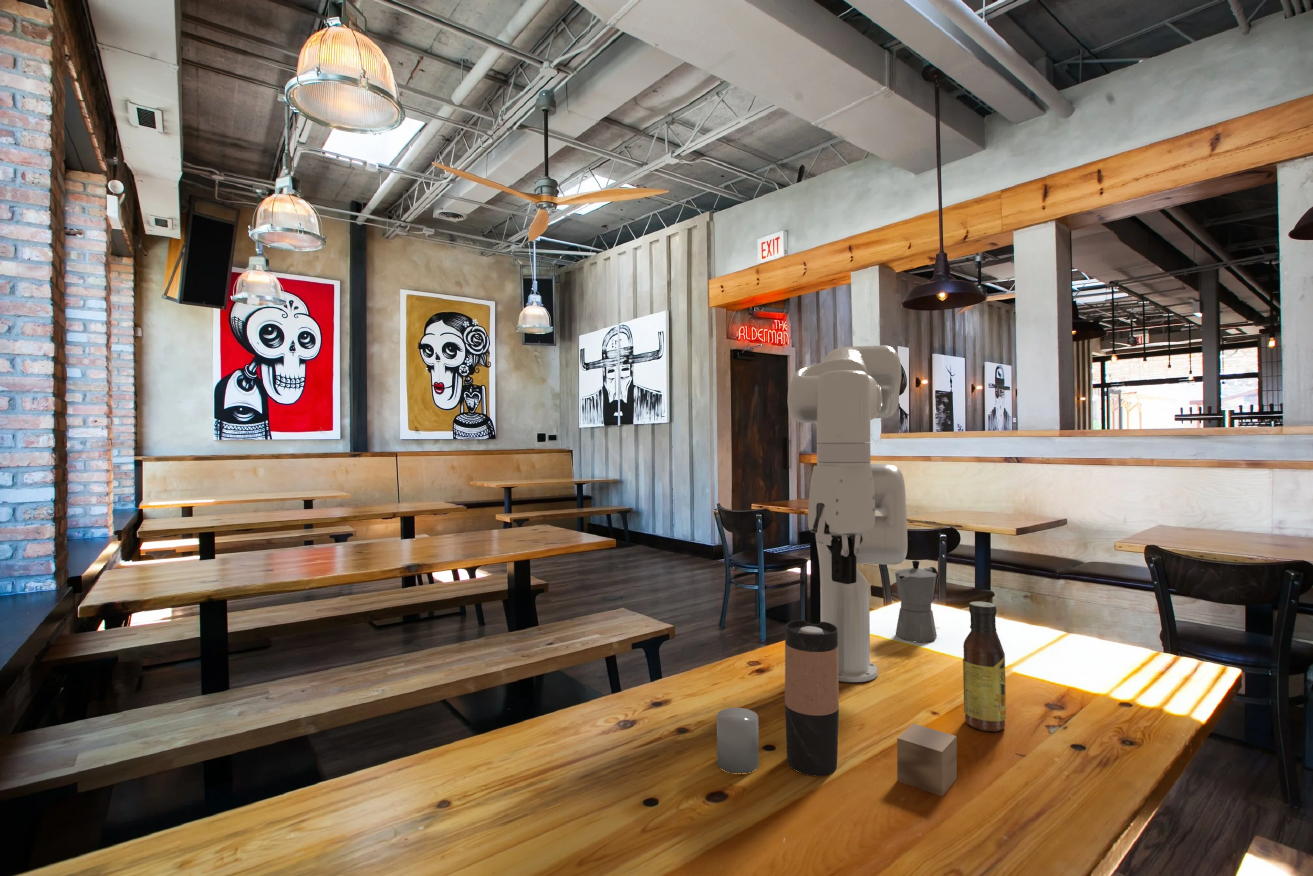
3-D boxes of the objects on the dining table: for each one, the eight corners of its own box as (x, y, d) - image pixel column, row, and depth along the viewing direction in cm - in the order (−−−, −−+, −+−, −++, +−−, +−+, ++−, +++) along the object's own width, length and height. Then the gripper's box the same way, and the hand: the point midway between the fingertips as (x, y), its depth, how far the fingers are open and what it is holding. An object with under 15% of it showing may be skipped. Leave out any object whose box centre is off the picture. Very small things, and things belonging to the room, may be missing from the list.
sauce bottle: (1011, 735, 104) (1011, 610, 103) (969, 732, 105) (968, 608, 105) (998, 717, 110) (998, 600, 110) (958, 714, 111) (958, 598, 111)
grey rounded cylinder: (708, 761, 96) (708, 714, 96) (739, 750, 99) (739, 704, 99) (735, 779, 91) (735, 729, 91) (767, 767, 94) (766, 718, 94)
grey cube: (897, 781, 90) (897, 738, 90) (913, 764, 95) (913, 723, 95) (942, 797, 86) (942, 752, 86) (956, 779, 91) (956, 736, 91)
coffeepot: (917, 647, 146) (917, 567, 146) (881, 636, 154) (881, 560, 154) (955, 634, 155) (955, 559, 155) (919, 625, 163) (919, 553, 163)
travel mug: (809, 782, 90) (808, 637, 90) (774, 758, 97) (773, 623, 97) (850, 769, 93) (849, 630, 93) (814, 746, 100) (813, 616, 100)
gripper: (854, 455, 102) (855, 572, 102) (788, 456, 94) (788, 584, 93) (896, 455, 96) (897, 580, 96) (830, 457, 87) (830, 594, 87)
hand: (843, 581), depth 95 cm, fingers closed
